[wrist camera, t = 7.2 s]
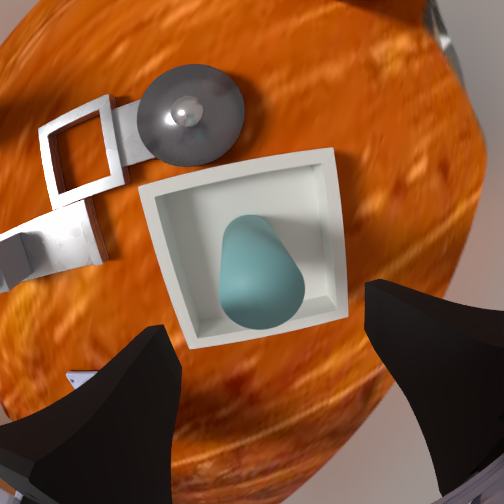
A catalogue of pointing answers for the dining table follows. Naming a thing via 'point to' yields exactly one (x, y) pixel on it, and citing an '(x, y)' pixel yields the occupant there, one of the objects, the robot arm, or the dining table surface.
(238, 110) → the block
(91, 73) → the dining table surface
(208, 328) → the tray
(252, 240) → the pin
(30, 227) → the rail
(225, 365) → the dining table surface
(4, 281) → the carriage
